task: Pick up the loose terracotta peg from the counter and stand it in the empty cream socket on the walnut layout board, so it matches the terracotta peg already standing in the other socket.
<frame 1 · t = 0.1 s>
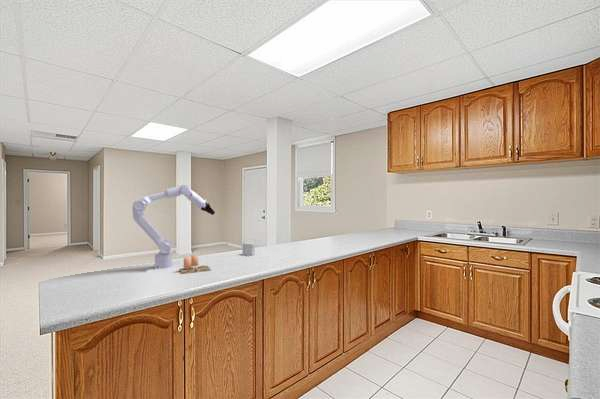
hand: (212, 213, 181), 32 cm above the countertop, tool tilted 50°, fingers open, 7 cm apart
medicine box: (248, 255, 206), on the countertop
terracotta peg: (194, 267, 172), on the countertop
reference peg: (187, 270, 160), resting on layout board
layout board: (195, 271, 162), on the countertop
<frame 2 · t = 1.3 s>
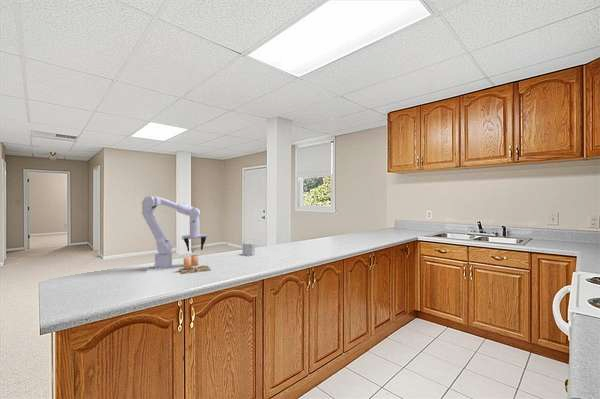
hand: (195, 250, 172), 10 cm above the countertop, tool pointing down, fingers open, 7 cm apart
nothing on the countertop moved.
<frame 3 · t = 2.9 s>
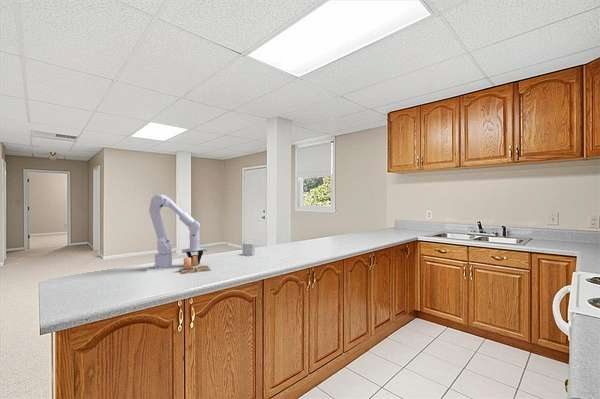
hand: (194, 263, 172), 2 cm above the countertop, tool pointing down, fingers closed on terracotta peg, 4 cm apart
terracotta peg: (194, 267, 172), on the countertop, touching gripper
everything else where it was.
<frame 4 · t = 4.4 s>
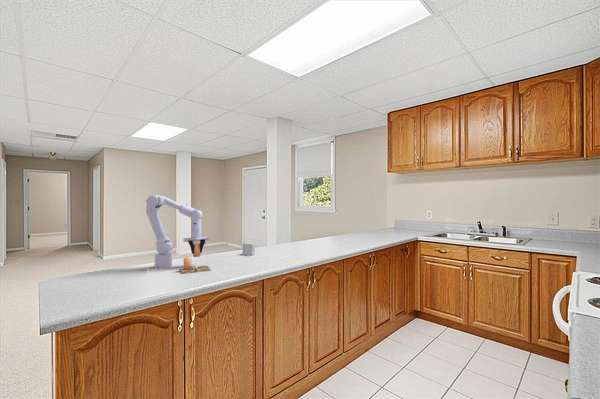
hand: (196, 253, 170), 9 cm above the countertop, tool pointing down, fingers closed on terracotta peg, 4 cm apart
terracotta peg: (196, 256, 170), point 7 cm above the countertop, touching gripper
everything else where it was.
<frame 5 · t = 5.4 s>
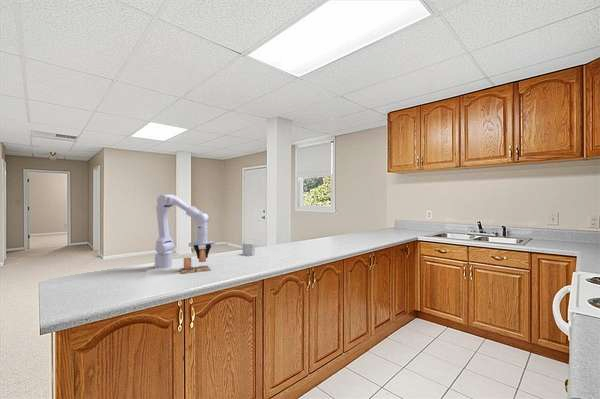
hand: (202, 258, 163), 7 cm above the countertop, tool pointing down, fingers closed on terracotta peg, 4 cm apart
terracotta peg: (202, 261, 163), point 5 cm above the countertop, touching gripper
everything else where it was.
when the fingers open (4 cm above the countertop, at t = 6.3 s): terracotta peg drops 1 cm, resting on layout board.
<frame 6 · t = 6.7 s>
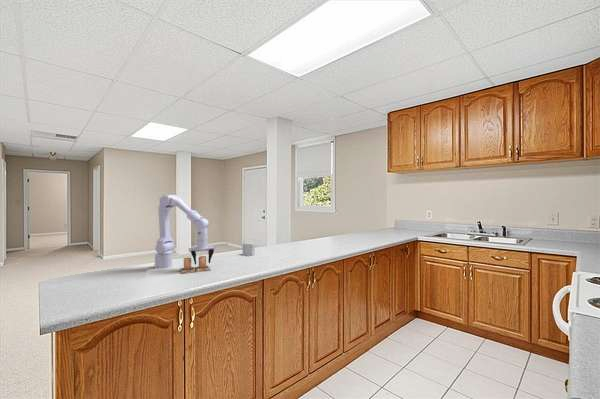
hand: (202, 263, 163), 4 cm above the countertop, tool pointing down, fingers open, 7 cm apart
terracotta peg: (202, 268, 163), point 1 cm above the countertop, touching layout board
everything else where it was.
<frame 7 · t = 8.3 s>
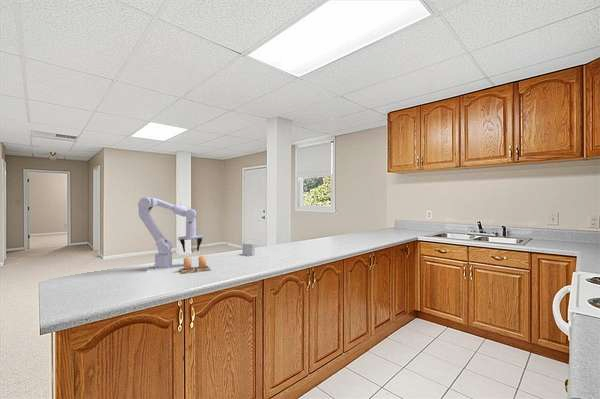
hand: (191, 251, 172), 9 cm above the countertop, tool pointing down, fingers open, 7 cm apart
nothing on the countertop moved.
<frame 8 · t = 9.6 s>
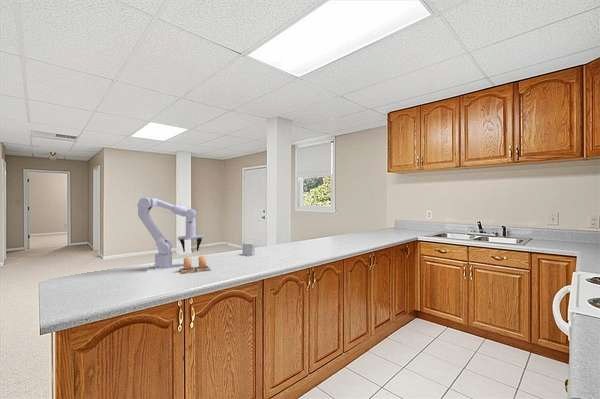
hand: (190, 251, 173), 9 cm above the countertop, tool pointing down, fingers open, 7 cm apart
nothing on the countertop moved.
at the end: terracotta peg 0.0 cm from the target spot on the layout board, point 1.0 cm above the layout board's base; terracotta peg tilted 0°; the gripper is holding nothing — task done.
